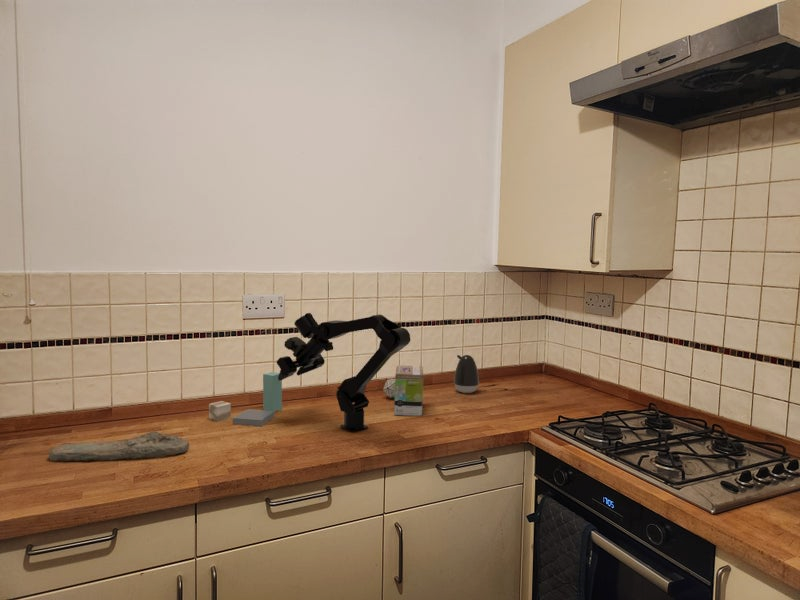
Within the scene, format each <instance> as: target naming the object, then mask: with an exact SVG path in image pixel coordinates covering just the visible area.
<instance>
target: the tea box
mask: <svg viewBox="0 0 800 600" xmlns="http://www.w3.org/2000/svg"><path fill="white" fill-rule="evenodd" d="M394 379H395V397H394V398H393V399H394V403H393V404H394V405H393V406H394V407H393V408H394V410H393V412H394V413H393V414H394V415H395V416H412V417H413V416H415V417H419V416H420V417H421V416H422V415H423V400H424V399H423V397H424V396H423V395H424V367H423V365H396V369H395V378H394Z"/></svg>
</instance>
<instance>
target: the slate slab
mask: <svg viewBox="0 0 800 600" xmlns="http://www.w3.org/2000/svg"><path fill="white" fill-rule="evenodd" d="M275 413H276V412H275V411H265V410H262V409H249V408H247V409H245V410H243V411H242V412H240V413H238V414H237V415H235V416H234V417H232V425H237V424H241V426H250V425H252V427H263V426H264V424H265V425H266V424H267V423H269V422H270V421H271V420H273V419H274V418H275V417H276V416H275V415H276V414H275ZM273 417H274V418H273ZM272 418H273V419H272ZM269 420H270V421H269ZM268 421H269V422H268Z"/></svg>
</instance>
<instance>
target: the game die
mask: <svg viewBox="0 0 800 600" xmlns="http://www.w3.org/2000/svg"><path fill="white" fill-rule="evenodd" d="M385 380H386V381H385V384H384V386H383V388H380V391H381V392H382V391H383V392H384V393H385V394H386V396H387V397H388V400H389V399H390V400H391V399H392V398H393V399H394V398H395V378H387V377H385Z"/></svg>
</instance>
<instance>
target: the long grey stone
mask: <svg viewBox="0 0 800 600" xmlns="http://www.w3.org/2000/svg"><path fill="white" fill-rule="evenodd" d="M189 447H190V442H189V441H188V440H187V439H185V438H183V437H178V436H176V435H174V434H164V433H163V432H161V433H160V432H158V431H157V430H152V431H149V432H146V433H145V434H141V435H140V436H134V437H132V438H130V439H125V440H112V441H100V442H97V441H94V442H80V443H79V442H77V443H70V442H68V443H64V444H61V445H58V446H55V447H52V448H51V449H50V451H49V452H48V459H49V460H50V461H51V462H58V461H59V462H60V461H65V462H67V461H70V462H71V461H75V462H81V461H84V462H91V461H100V462H101V461H117V460H123V459H124V460H125V459H131V460H132V459H133V460H136V459H139V460H140V459H147V458H165V456H171V455H172V456H174V455H176V454H181V453H185V452H187V451H188V449H189Z"/></svg>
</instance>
